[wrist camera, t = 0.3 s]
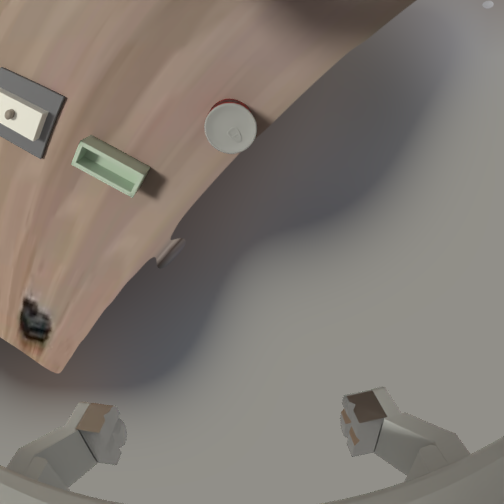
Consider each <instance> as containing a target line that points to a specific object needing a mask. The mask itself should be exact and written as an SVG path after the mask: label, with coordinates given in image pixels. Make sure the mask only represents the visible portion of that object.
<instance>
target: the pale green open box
mask: <svg viewBox="0 0 504 504" xmlns="http://www.w3.org/2000/svg"><path fill="white" fill-rule="evenodd" d="M71 165H73V166H75V167H77V168H79V169H81V170H82V171H84V172H86V173H88V174H90V175H92V176H93V177H95V178H97V179H99V180H101V181H102V182H104V183H106V184H108V185H110V186H112V187H113V188H115V189H117V190H119V191H121V192H123V193H125V194H126V195H128V196H130V197H132V198H133V197H134V195H135V194H136V192H137V191H138V190H139V188H140V186H141V184H142V182H143V180H144V178H145V177H146V175H147V173H148V171H149V169H150V167H149V166H148V165H146V164H144V163H142V162H140V161H138V160H137V159H135V158H133V157H131V156H129V155H127V154H126V153H124V152H122V151H120V150H118V149H116V148H114V147H113V146H111V145H109V144H107V143H105V142H103V141H101V140H100V139H98V138H96V137H94V136H92V135H90V136H88V137H86V138H85V139H83V140H81V141H80V143H79V146H78V148H77V150H76V153H75V155H74V158H73V161H72V163H71Z"/></svg>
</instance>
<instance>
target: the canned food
mask: <svg viewBox="0 0 504 504" xmlns="http://www.w3.org/2000/svg"><path fill="white" fill-rule="evenodd" d="M204 129H205V135H206V137H207V140H208V141H209V143H210V144H211V145H212V146H213V147H214V148H215V149H217V150H218V151H221V152H223V153H228V154H235V153H239V152H242V151H244V150H246V149H247V148H248V147H250V145H251V144H252V143H253V142H254V140H255V137H256V133H257V125H256V121H255V118H254V116H253V115H252V113H251V112H250V110H249V109H248V107H247V106H246V105H245V104H243V103H242V102H240V101H238V100H235V99H224V100H221V101H219V102H217V103H216V104H215V105H214V106H213V107H212V108H211V110H210V112H209V113H208V115H207V118H206V120H205V125H204Z"/></svg>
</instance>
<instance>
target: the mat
mask: <svg viewBox="0 0 504 504" xmlns="http://www.w3.org/2000/svg"><path fill="white" fill-rule="evenodd" d="M0 88H2V89H4V90H7V91H9V92H11V93H13V94H15V95H17V96H19V97H21V98H23V99H25V100H27V101H28V102H30V103H32V104H34V105H36V106H38V107H40V108H42V109H44V110H46V111H48V112H49V113H48V115H47V118H46V121H45V123H44V126H43V129H42V132H41V134H40V137H39V139H37V140H35V141H32V140H30V139H28V138H26V137H24V136H23V135H21V134H19V133H17V132H15V131H14V130H12V129H10V128H8V127H6V126H5V125H3V124H1V123H0V136H1V137H3V138H4V139H6V140H8V141H10V142H11V143H13V144H15V145H17V146H18V147H20V148H22V149H24V150H25V151H27V152H29V153H31V154H33V155H34V156H36V157H38V158H40V159H41V158H42V157H43V154H44V151H45V148H46V145H47V142H48V139H49V137H50V134H51V131H52V129H53V126H54V123H55V121H56V118H57V116H58V113H59V111H60V108H61V106H62V104H63V101H64V99H65V96H63V95H61V94H59V93H57V92H55V91H53V90H51V89H48V88H46V87H44V86H42V85H40V84H38V83H36V82H34V81H32V80H30V79H27V78H25V77H23V76H21V75H19V74H17V73H14V72H12V71H10V70H8V69H6V68H3V67H1V68H0Z"/></svg>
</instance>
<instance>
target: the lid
mask: <svg viewBox="0 0 504 504" xmlns="http://www.w3.org/2000/svg"><path fill="white" fill-rule="evenodd" d="M48 113H49V112H48V111H46V110H44V109H42V108H40V107H38V106H36V105H34V104H32V103H30V102H28V101H27V100H25V99H23V98H21V97H19V96H17V95H15V94H13V93H11V92H9V91H7V90H4V89H2V88H0V123H1V124H3V125H5V126H6V127H8V128H10V129H12V130H14V131H15V132H17V133H19V134H21V135H23V136H24V137H26V138H28V139H30V140H32V141H35V140H37V139H39V137H40V134H41V132H42V129H43V126H44V123H45V121H46V118H47V115H48Z"/></svg>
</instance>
